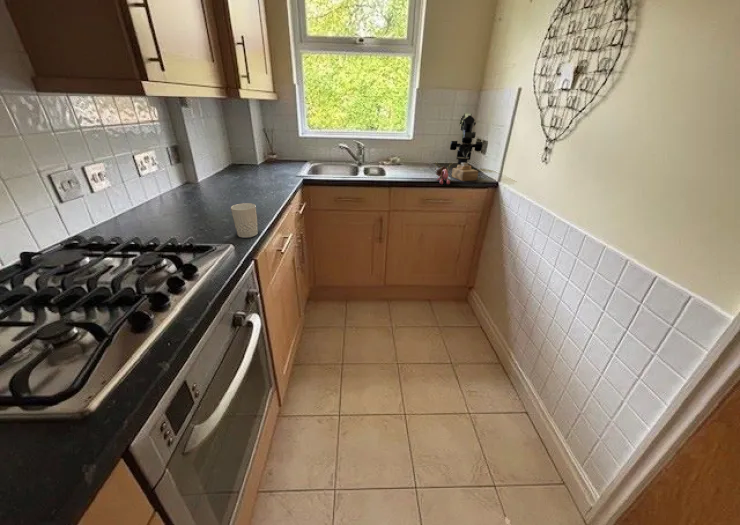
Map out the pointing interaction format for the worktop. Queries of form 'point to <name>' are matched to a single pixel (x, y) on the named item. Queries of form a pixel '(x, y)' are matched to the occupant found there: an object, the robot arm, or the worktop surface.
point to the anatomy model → (443, 174)
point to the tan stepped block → (464, 173)
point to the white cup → (245, 219)
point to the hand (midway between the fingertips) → (465, 157)
